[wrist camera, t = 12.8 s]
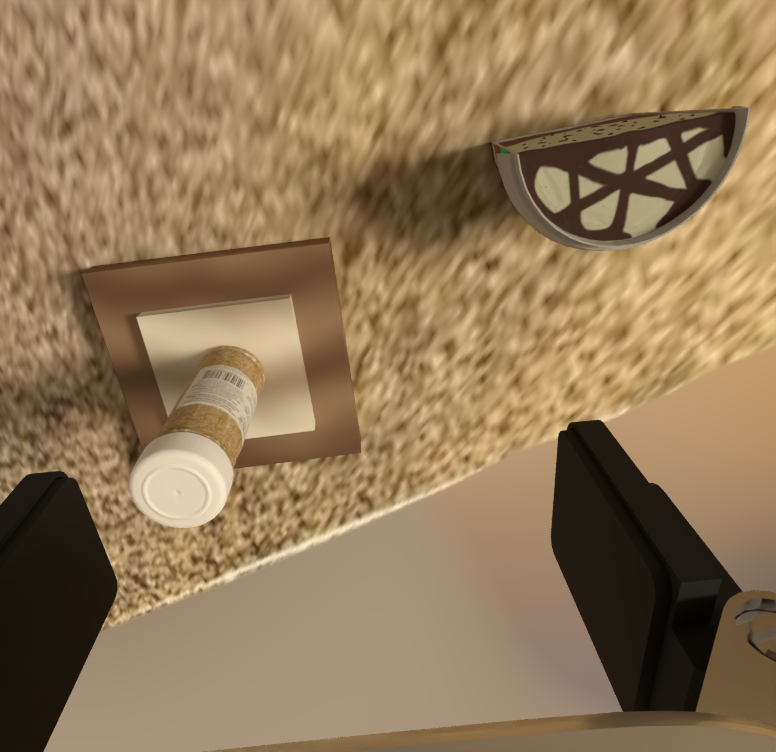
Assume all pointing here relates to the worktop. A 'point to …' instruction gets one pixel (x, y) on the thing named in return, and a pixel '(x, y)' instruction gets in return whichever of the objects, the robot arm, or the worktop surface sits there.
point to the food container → (620, 174)
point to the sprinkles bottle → (199, 442)
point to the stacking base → (235, 341)
